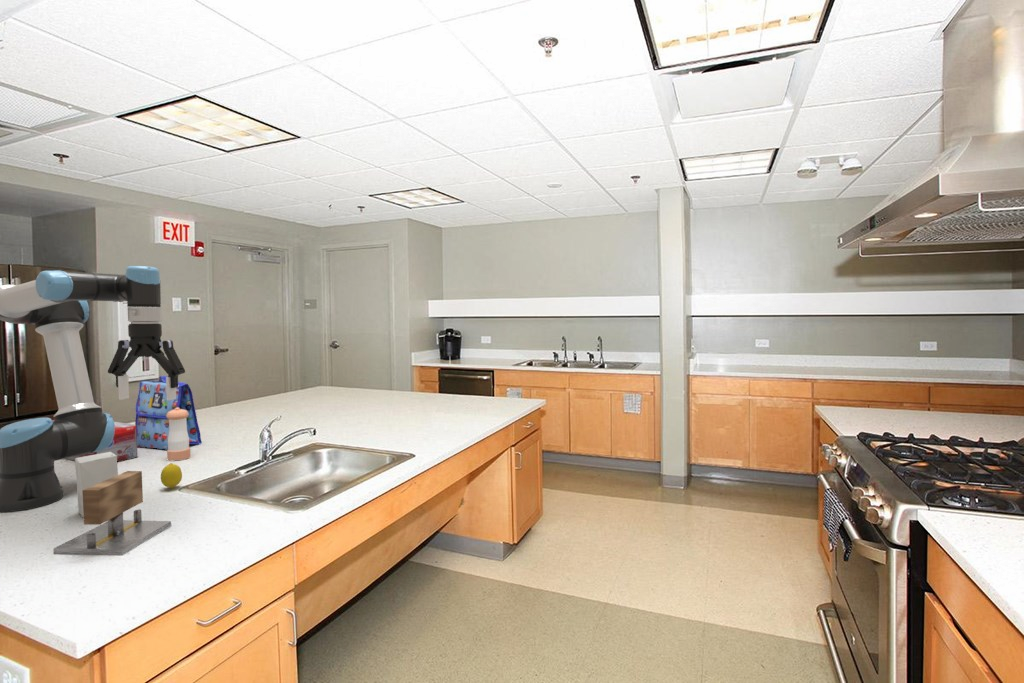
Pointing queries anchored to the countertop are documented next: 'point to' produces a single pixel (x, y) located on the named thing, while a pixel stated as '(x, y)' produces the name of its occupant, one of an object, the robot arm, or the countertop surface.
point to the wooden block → (112, 497)
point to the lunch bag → (162, 413)
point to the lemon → (171, 475)
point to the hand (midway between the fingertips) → (147, 399)
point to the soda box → (120, 443)
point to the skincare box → (94, 472)
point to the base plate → (114, 536)
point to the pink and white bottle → (178, 435)
